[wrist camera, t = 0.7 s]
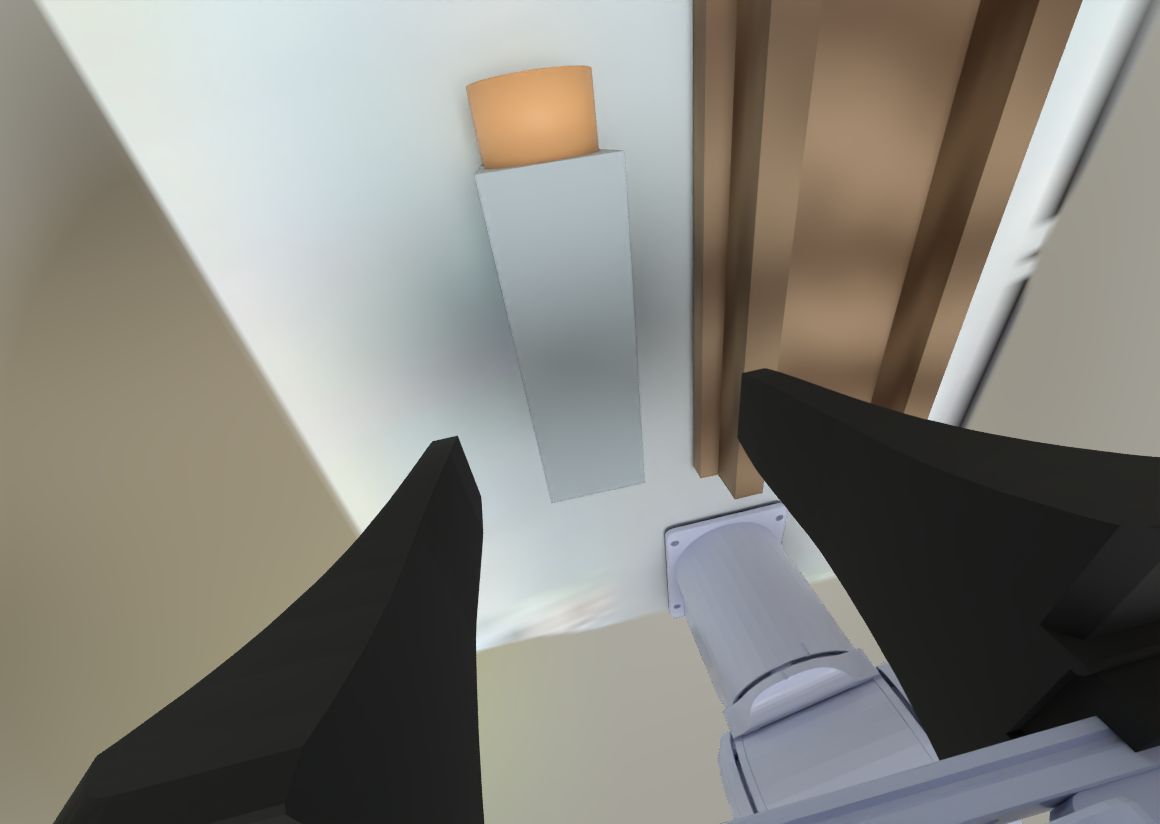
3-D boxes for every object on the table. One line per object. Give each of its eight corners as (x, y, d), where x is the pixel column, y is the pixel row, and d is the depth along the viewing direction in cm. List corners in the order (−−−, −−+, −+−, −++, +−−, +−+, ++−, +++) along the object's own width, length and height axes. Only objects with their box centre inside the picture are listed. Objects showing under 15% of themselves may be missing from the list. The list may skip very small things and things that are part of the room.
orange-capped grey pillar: (616, 418, 22) (644, 482, 18) (540, 434, 22) (551, 503, 18) (582, 79, 14) (618, 53, 10) (464, 97, 14) (451, 77, 10)
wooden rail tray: (887, 421, 25) (930, 452, 23) (693, 466, 24) (716, 503, 22) (1050, -106, 14) (1174, -162, 11) (693, -51, 13) (740, -97, 10)
